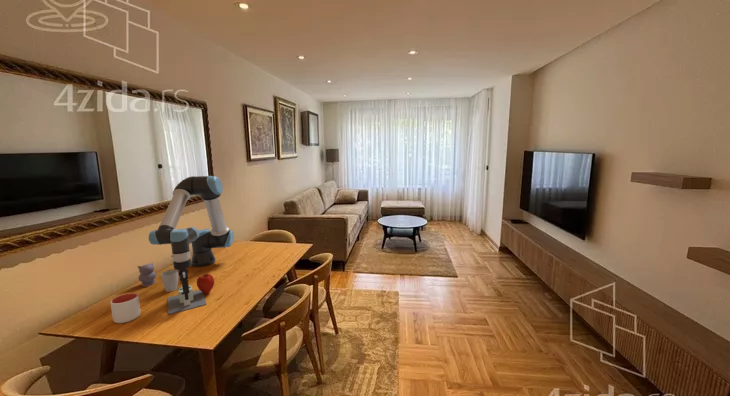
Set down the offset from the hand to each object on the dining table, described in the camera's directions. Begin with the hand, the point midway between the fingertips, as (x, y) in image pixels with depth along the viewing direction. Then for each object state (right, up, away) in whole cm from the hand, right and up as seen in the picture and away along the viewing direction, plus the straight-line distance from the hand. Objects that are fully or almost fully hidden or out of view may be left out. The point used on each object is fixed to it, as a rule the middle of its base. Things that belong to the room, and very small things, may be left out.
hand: (186, 300), depth 152 cm
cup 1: (-18, -3, -15) cm, 24 cm away
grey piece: (0, -1, 0) cm, 1 cm away
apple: (+6, +1, +9) cm, 11 cm away
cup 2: (-17, +1, +14) cm, 22 cm away
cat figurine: (-35, +2, +21) cm, 41 cm away
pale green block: (0, 0, 0) cm, 0 cm away
